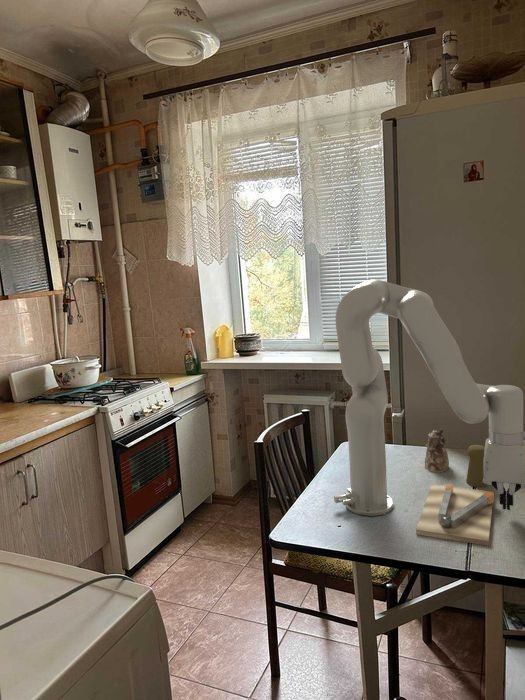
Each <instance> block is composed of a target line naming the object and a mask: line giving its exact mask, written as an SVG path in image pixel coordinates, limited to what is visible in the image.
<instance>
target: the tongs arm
mask: <svg viewBox="0 0 525 700" xmlns="http://www.w3.org/2000/svg"><path fill="white" fill-rule="evenodd" d="M492 502H493V503H494V502H495V493H494V492H493V493H491V492H486V493H485V494H483V495H482V496H481V497H479V498H478V499H476V500H475V501H473V502H472V503H470V504H469V505H467V506H466V507H464V508H463V509H461V510H460V511H458V512H457V513H455V514H454V515H452V516H447V515H443V516H441V526H442V527H444V528H450V527H452V528H455V527H457V526H458V525H460V524H461V523H462V522H464V521H465V520H467V519H468V518H470V517H471V516H473V515H474V514H476V513H477V512H478V511H480V510H481V509H483V508H484V507H486V506H487V505H489V504H491V503H492Z"/></svg>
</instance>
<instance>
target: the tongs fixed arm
mask: <svg viewBox="0 0 525 700" xmlns="http://www.w3.org/2000/svg"><path fill="white" fill-rule="evenodd" d="M445 486H446V487H445V492H444V496H443V499H442V502H441V506H440V509H439V513H438V521H440V522H441V516H443V515H447V514H448V510H449V506H450V502H451V498H452V496H453V492H454V489H453V487H454V483H453V484H452V483H445Z"/></svg>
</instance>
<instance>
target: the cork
mask: <svg viewBox="0 0 525 700" xmlns="http://www.w3.org/2000/svg"><path fill="white" fill-rule="evenodd" d="M484 449H485V445H481V444H472V445H470V446H468V448H467V455H468V457H469V460H468V465H467V466H468V467H467V471H466V473H467V474H466V480H465V481H466V484H467V486H471V487H474V488H486V487H488V486H489V485H488V484H485V483H483V477H484V469H483V468H484Z"/></svg>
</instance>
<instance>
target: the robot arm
mask: <svg viewBox="0 0 525 700" xmlns="http://www.w3.org/2000/svg"><path fill="white" fill-rule="evenodd" d="M377 314H381V315H386V316H389V317H392V318H395V319H399V321H400V323H401V324H402V326H403V327H404V329H405V331H406V332H407V334H408V336H409V337H410V339H411V340H412V342H413V344H414V345H415V347H416V349H417V350H418V352H419V353H420V355H421V356H422V358H423V361H424V362H425V363H426V366H427V368H428V370H429V371H430V373H431V375H432V376H433V378H434V380H435V382H436V383H437V385H438V386H439V389H440V391H441V393H442V394H443V397H445V399H446V401H447V402H448V404H449V406H450V407H451V409H452V410H453V411H454V413H455V415H456V416H457V418H459V419H460V420H461V421H463V422H464V423H467V424H473V425H474V424H479V423H481V422H483V421H484V420H486V418H487V417H488V438H486V439H485V443H484V447H485V449H484V468H483V469H484V477H483V483H485V484H488V486H492V487H493V488H494V489H495V490H496V491H497V492H498V494H499V505H502V510H508V511H510V510H511V506H512V507H513V506H514V495H515V494H516V493H517V492H518V491H520V489H525V431H524V392H523V390H522V389H521V388H520V387H518V386H515V385H513V384H512V385H510V384H498V385H491V384H483V383H476V381H475V380H474V378H473V377H472V375H471V373H470V372H469V370H468V367H467V366H466V365H467V364H466V363H465V361H464V358H463V356H462V355H463V354H462V353H461V350H460V347H459V345H458V343H457V341H456V339H455V338H454V336H453V335H452V334H451V331H450V330H449V329H448V327H447V325H446V324H445V322H444V321H443V319H442V318H441V316H440V314H439V313H438V311H437V309H436V307H435V305H434V301H433V299H432V297H431V296H430V295H429V294H428V293H426V292H424V291H422V290H419V289H414V288H410V287H405V286H402V285H399V284H395V283H391V282H388V281H383V280H381V279H370V280H369V279H368V280H366V281H363V282H361V283H359V284H358V285H355V286H354V287H353V288H351V290H349V291H348V292H347V293H345V295H344V296H343V297H342V298H341V299H340V302H339V303H338V305H337V308H336V312H335V320H334V321H335V328H336V337H337V342H338V343H337V345H338V351H339V357H340V364H341V365H340V366H341V372H342V373H341V374H342V376H343V379H344V381H345V382H346V383H347V384H348V385H349V386H351V391H352V395H351V397H350V398H349V400H348V401H347V404H346V408H345V423H346V429H347V441H348V458H349V461H348V462H349V478H350V487H347V490H346V491H347V492H344V494H343V493H342V494H338V495H334V496H333V501H334V503H335V504H339V503H342V505H343V506H345V507H346V508H347V509H348V510H349V511H350V512H352V513H354V514H357V515H360V516H361V515H362V516H368V517H369V516H370V517H373V516H376V517H377V516H381V515H384V514H387V513H388V512H390V511H392V509H393V508H394V500H393V498H392V497H391V496H389V495H388V487H387V486H388V484H387V482H388V480H387V460H386V458H387V457H386V456H387V455H386V453H387V452H386V451H387V450H386V436H385V435H386V434H385V423H384V419H385V418H384V416H385V413H386V410H387V408H388V407H387V406H388V402H389V397H388V391H387V389H388V388H387V383H386V377H385V370H384V364H383V363H384V362H383V359H382V356H381V355H380V352H379V351H378V350H377V349H375V348H374V347H373V341H372V333H371V327H370V320H371V318H372V317H373V316H374V315H377ZM504 483H505V484H509V487H508V488H507V490H506V488H505V486H504Z"/></svg>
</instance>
